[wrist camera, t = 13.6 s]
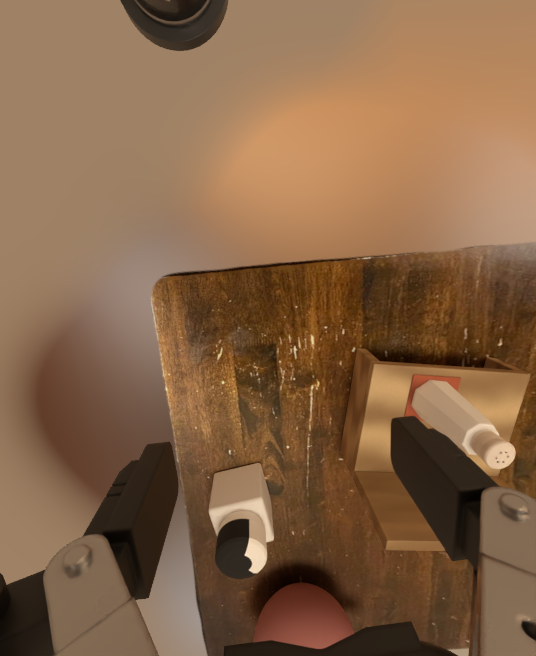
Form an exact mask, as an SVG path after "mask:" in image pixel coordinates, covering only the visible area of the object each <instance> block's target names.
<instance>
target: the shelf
mask: <svg viewBox="0 0 536 656" xmlns="http://www.w3.org/2000/svg"><path fill="white" fill-rule="evenodd" d="M529 378H530V374H529V373H527V372H524V371H522V370H520V369H518V368H516V367H513V366H511V365H509V364H507V363H505V362H502V361H500V360H498V359H496V358H491V357H486V361H485V364H484V368H474V367H459V366H444V365H429V364H414V363H399V362H384V361H379V360H378V359H377V358H376V357H374V356H373V355H372V354H371V353H370V352H369V351H368V350H366V349H362V348H357V353H356V359H355V365H354V371H353V377H352V383H351V389H350V395H349V400H348V406H347V412H346V418H345V424H344V430H343V436H342V442H341V448H340V450H341V453H342V455H343V457H344V459H345V462H346V464H347V466H348V468H349V470H350V472H351V475H352V477H353V479H354V481H355V484H356V486H357V488H358V490H359V492H360V495H361V497H362V499H363V501H364V503H365V506H366V508H367V510H368V512H369V515H370V517H371V519H372V521H373V523H374V526H375V528H376V530H377V532H378V535H379V537H380V539H381V541H382V543H383V546H384V548H385V550H418V551H446V550H445V549H444V547H443V546H442V544H441V543H440V541H439V540H438V538H437V536H436V535H435V533H434V532H433V530H432V529H431V527H430V526H429V524H428V523H427V521H426V519H425V518H424V516H423V515H422V513H421V512H420V510H419V509H418V507H417V506H416V504H415V503H414V501H413V499H412V498H411V496H410V495H409V493H408V492H407V490H406V489H405V487H404V486H403V484H402V482H401V481H400V479H399V478H398V476H397V475H396V473H395V471H394V469H393V466H392V462H391V456H390V447H391V421H392V419H393V418H397V417H406V416H415V417H417V418H418V419H419V420H420V421H421V422H422V423H423V424H424V425H425V426H426V427H427V428H428V429H430V428H433V427H432V426H431V425H429V424H428V423H427V422H425V421H424V420H423V419H421V418H420V417H419V416H418V414H417V413H416V411H415V410H414V409H413V407H412V406H411V404H412V400H413V396H414V393H415V389H417V388H418V387H420V386H421V385H423V384H424V383H426V382H427V381H429V380H437V381H446V382H447V383H448V384H450V385H451V386H452V387H453V388H454V389H455V390H456V391H457V392H458V393H459V394H460V395H462V396H463V397H464V398H465V399H466V400H467V401H468V402H469V403H470V404H471V405H473V406H474V407H475V408H476V409H477V410H478V411H479V412H480V413H481V414H482V415H484V416H485V417H486V418H487V419H488V420H489V421H490V422H491V423H492V424H493V425H494V427H495V429H496V430H497V432H498V433H499V436H500V437H501V438H503V439H504V440H505V441H507V442H509V440H510V437H511V434H512V431H513V428H514V425H515V422H516V418H517V415H518V412H519V409H520V406H521V403H522V400H523V397H524V393H525V390H526V387H527V384H528V381H529ZM433 429H435V428H433ZM435 430H436V429H435ZM458 448H460V447H458ZM460 449H461V448H460ZM461 450H462V449H461ZM462 451H463V452H464V453H465V454H466V456H467V457H469V458H471V459H472V460H473V461H474V462H475V463H476V464H477V465H478V466H479V467H480V468H481V469H482V470H483V471H484V472H485V473H486V474H487V475H488V476H489V477H490V478H491V479H492V480H494V481H495V482H496V483H497V484H498V485H499V486H500V487H506V488H510V487H509V486H508V485H507V484H506V483H505V482H504V481H503V480H502V479H501V478H500V477H498V475H499V472H500V469H493V468H490V467H489V466H487V465H486V464H485V462H484V461H483V460H482V459H481V458H480V457H479V456H478V455H472V454H468V453H467V452H465V451H464V450H462ZM511 489H512V488H511Z"/></svg>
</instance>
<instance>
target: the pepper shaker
mask: <svg viewBox="0 0 536 656" xmlns="http://www.w3.org/2000/svg"><path fill="white" fill-rule="evenodd" d="M411 406H412V407H413V409H414V410H415V411H416V413H417V414H418V416H419V417H420V418H421V419H423V420H424V421H425V422H427V423H428V424H429V425H431V426H432V427H433V428H435V429H436V430H437V431H439V432H440V433H442V434H444V435H446V436H447V437H449V438H450V439H451V440H452V441H453V442H454V443H455V444H456V445H457V446H458V447H460V448H461V449H462V450H464V451H465V452H467V453H468V454H472V455H478V456H479V457H480V458H481V459H482V460H483V461H484V462H485V464H486V465H487V466H489V467H490V468H493V469H502V468H504V467H507V466H508V465H509V464H511V463H512V461H513V460H514V458H515V448H514V447H513V445H512V444H510V443H509V442H507V441H505V440H504V439H503V438H501V437H500V436H499V433H498V432H497V430H496V429H495V427H494V425H493V424H492V423H491V422H490V421H489V420H488V419H487V418H486V417H485V416H484V415H482V414H481V413H480V412H479V411H478V410H477V409H476V408H475V407H474V406H473V405H471V404H470V403H469V402H468V401H467V400H466V399H465V398H464V397H463V396H462V395H460V394H459V393H458V392H457V391H456V390H455V389H454V388H453V387H452V386H451V385H450V384H448V383H447V382H446V381H437V380H429V381H427V382H426V383H424V384H423V385H421V386H420V387H418V388H417V389H415V393H414V396H413V400H412V404H411Z"/></svg>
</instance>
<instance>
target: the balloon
mask: <svg viewBox="0 0 536 656" xmlns="http://www.w3.org/2000/svg"><path fill="white" fill-rule="evenodd" d="M352 634H354V631H353V628H352V625H351V623H350V621H349V619H348V617H347V615H346V613H345V611H344V610H343V608H342V607H341V605H340V604H339V603H338V602H337V601H336V599H335V598H334V597H333V596H331V595H330V594H329V593H328V592H327V591H325V590H324V589H322V588H320V587H318V586H316V585H313V584H309V583H294V584H290V585H287V586H285V587H283V588H281V589H280V590H278V591H277V592H276V593H275V594H274V595H273V596H272V597H271V598H270V599H269V600H268V601H267V603H266V604H265V606H264V608H263V609H262V611H261V613H260V616H259V618H258V621H257V624H256V628H255V632H254V638H253V642H261V641H268V640H273V641H278V642H283V643H289V644H294V645H299V646H304V647H310V648H315V649H323V648H326V647H328V646H330V645H332V644H334V643H336V642H338V641H340V640H342V639H344V638H346V637H348V636H350V635H352Z"/></svg>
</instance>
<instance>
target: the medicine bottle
mask: <svg viewBox="0 0 536 656" xmlns="http://www.w3.org/2000/svg"><path fill="white" fill-rule="evenodd" d="M209 515H210V518H211V521H212V523H213V526H214V529H215V532H216V535H217V545H216V554H215V562H216V565H217V567H218V568H219V569H220V571H221V572H222V573H223V574H225V575H226V576H228V577H231V578H235V579H244V578H249V577H252V576H254V575H255V574H257V573H258V572H259V571H260V570H261V569H262V568H263V567H264V565H265V563H266V560H267V547H266V542H270V541H273V540H274V531H273V520H272V508H271V499H270V495H269V492H268V488H267V484H266V481H265V477H264V474H263V470H262V467H261V464H260V463H255V464H251V465H247V466H243V467H239V468H234V469H230V470H226V471H222V472H218V473H215V474H214V478H213V485H212V491H211V498H210V505H209Z"/></svg>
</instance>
